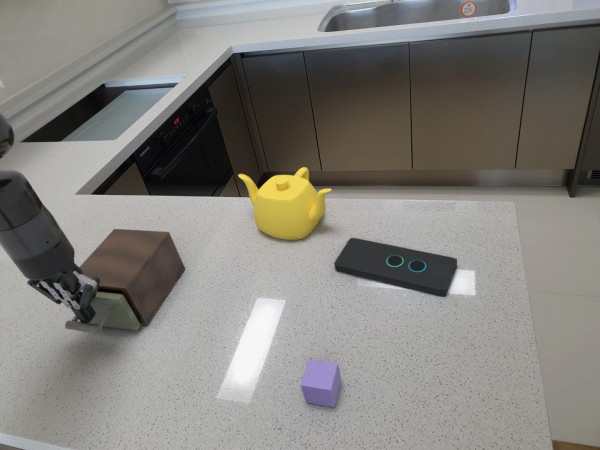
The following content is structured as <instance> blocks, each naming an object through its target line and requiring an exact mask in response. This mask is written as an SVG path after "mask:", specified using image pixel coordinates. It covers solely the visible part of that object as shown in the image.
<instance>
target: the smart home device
mask: <svg viewBox="0 0 600 450" xmlns="http://www.w3.org/2000/svg"><path fill="white" fill-rule="evenodd" d="M333 264H334V270H335V271H336V272H339V273H341V274H346V275H350V276H353V277H354V276H355V277H358V278H362V279H366V280H371V281H374V282H379V283H383V284H388V285H391V286H396V287H400V288H404V289H408V290H412V291H416V292H421V293H425V294H429V295H433V296H436V297H437V296H438V297H447V294H448V292H449V290H450V288H451V287H450V286H451V285H452V281H453V279H454V276H455V273H456V270H457V267H458V259H457V258H455V257H452V256H447V255H443V254H437V253H432V252H428V251H422V250H418V249H413V248H407V247H402V246H397V245H393V244H389V243H382V242H376V241H372V240H367V239H363V238H357V237H350V238H349V239H348V241H347V242H346V243H345V245H344V247H343V248H342V249H341V251H340V253H339V255H338V256H337V258H336V259H335V261H334V263H333Z"/></svg>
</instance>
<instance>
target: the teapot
mask: <svg viewBox="0 0 600 450" xmlns="http://www.w3.org/2000/svg"><path fill="white" fill-rule="evenodd" d="M237 176H238V178H239V179H240V180H241V181H243V183H244V184H245V186H246V188H247V192H248V196H249V199H250V202H251V204H252V206H253V216H254V222H255V225H256V227H257V228H258V229H259V230H260V231H261V232H262V233H264V234H266V235H267V236H270V237H273V238H276V239H280V240H288V241H296V240H297V241H298V240H301V239H305V238H306V237H307V236H308V235H309V234H311V232H312V231H313V230H314V229H315V228H316V227H317V225H318V224H319V222H320V220H321V218H323V216H324V214H325V212H326V195H327V194H329V193H330V192H332V188H323V189H320V190H319V191H317V190H316V189H315V187H314V186H313V184H312V183H311V182H310V171H309V168H307V167H306V166H303V167H301V168H299V169H298V170H297V171H296V173H294V175H291V174H276V175H273V176H271V177H270V178H269V179H268V180H266V182H264V183H263V184H262V186H261V187H259V188H258V187H257V185H256V183H255V182H254V181H253V179H252V178H251V177H250V176H248V175H246V174H243V173H239V174H237Z"/></svg>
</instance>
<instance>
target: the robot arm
mask: <svg viewBox="0 0 600 450" xmlns="http://www.w3.org/2000/svg"><path fill="white" fill-rule="evenodd" d="M12 126H13V125H12V124H11V122H10V121H9V119H7V117H6V116H5V115H4V114H3V113H2V112H1V111H0V160H2V159H3V158H5V157H7V156H8V154H10V152H11V151H12V150H13V148H14V145H15V132H14V129H13V127H12ZM0 246H1V247H2V249H3V250H4V252H5V253H6V254H7V256H8V257H9V258H10V259H11V261H12V263H14V265H15V266H16V267H17V269H18V270H19V271H20V272H21V274H22V275H23V276H24V277H25V278H26V279H28V280H27V282H26V283H27V285H28V286H30V287H31V288H32V289H34V290H35V291H36V292H38V293H40V294H41V295H42V296H44V297H46V298H47V299H49V300H50V301H51V302H53V303H55V305H58V306H59V305H61V304H63V305H64V307H66V308H67V309H70V310H71V311H72V312H73V314H74V316H75V315H76V316H77V318H78V321H79V322H85V323H90V322H91V320H92V319H93V318H94V316H95V314H96V312H95V310H94V309H93V307H92V306H91V305H90V302H91V301H92V300H93V299H94V298H95V297H96V294H97V291H98V287H99V284H100V279H99V278H98V277H96V276H94V277H93V278H92V279H90V278H88V277H86V276H84V275H83V271H82V269H81V268H80V266H79V265H77V263H76V262H75V256H76V255H75V253H76V252H75V251H76V250H75V248H74V247H73V244H72V243H71V241H70V240H69V239H68V237H67V236H66V234H65V231H63V229H62V228H61V226H60V224H59V223H58V221H57V220H56V218H55V217H54V214H52V213H51V212H50V210H49V209H48V208H47V207H46V206H45V205H44V203H43V202H42V200H41V199H40V197H39V195H38V194H37V192H36V191H35V189H34V188H33V186H32V184H31V182H30V181H29V180H28V179H27V177H26V176H25V175H24V174H23V173H22V172H20V171H19V170H16V169H9V168H7V169H6V168H0Z"/></svg>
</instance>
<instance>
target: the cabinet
mask: <svg viewBox="0 0 600 450" xmlns="http://www.w3.org/2000/svg"><path fill="white" fill-rule="evenodd" d="M79 267H80V268H81V269H82V271H83V275H84V276H86V277H88V278H90V279H92V278H93V277H94V276H96V277H98V278H99V279H100V284H99V287H98V288H99V289H109V290H118V291H124V292H125V294H126V296H127V298H128V299H129V301H130V303H131V304H132V306H133V308H134V310H135V311H136V313H137V315H138V317H136V318H137V320H138V321H139V323H140V325H141V326H140V327H148V326H149V325H150V323H151V322H152V321H153V319H154V317H155V316H156V314H157V313H158V311H159V310H160V308H161V307H162V305H163V304H164V302H165V301H166V299H167V297H168V296H169V295H170V293H171V292H172V290H173V289H174V287H175V286H176V284H177V283H178V281H179V279H180V278H181V276H182V275H183V273H184V272H185V270H186V266H185V264H184V263H183V260H182V258H181V256H180V253H179V251H178V249H177V246H176V244H175V242H174V239H173V238H172V235H171V233H170V231H162V230H161V231H160V230H143V229H125V228H123V229H122V228H114V229H113V230H111V232H110V233H109V234H108V235H107V236H106V237H105V238H104V239H103V241H102V242H101V243H100V244H99V245H98V246H97V247H96V248H95V249H94V250H93V251H92V253H91V254H90V255H89V256H88V257H87V258H86V259H85V260H84V261H83V263H82V264H81V265H79Z"/></svg>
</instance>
